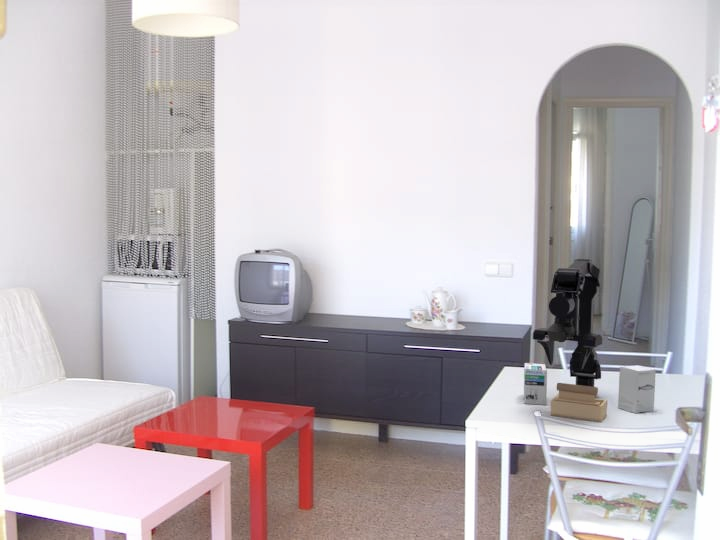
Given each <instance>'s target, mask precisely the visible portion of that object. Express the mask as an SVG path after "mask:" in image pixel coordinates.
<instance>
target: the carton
mask: <svg viewBox="0 0 720 540" xmlns="http://www.w3.org/2000/svg"><path fill="white" fill-rule="evenodd" d="M554 397H559V393H558V394H556V395H555V396H554ZM595 402H600V404H599V405H592V404H585V403H577V402H569V401H561V400H553V398H551V399H550V415H549V416H550V417H551V416H553V417H558V418H559V417H561V418H565V419H567V418H568V419H573V420H581V421H587V422H588V421H589V422H596V423H602V421H604V419H605V418H606V417H607V414H608V400H606V399H601V398H600V399H599V398H595Z"/></svg>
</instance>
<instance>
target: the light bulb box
mask: <svg viewBox="0 0 720 540" xmlns="http://www.w3.org/2000/svg"><path fill="white" fill-rule="evenodd" d="M523 368H524V370H523V373H524V374H523V400H524V401H523V402H524V404H527V405H542V406H546V405H547V392H548V391H547V390H548V388H547V385H548V380H547V379H548V370H547V364H546V363H533V362H524V367H523Z"/></svg>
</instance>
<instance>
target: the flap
mask: <svg viewBox="0 0 720 540" xmlns="http://www.w3.org/2000/svg"><path fill="white" fill-rule="evenodd" d="M556 390H557V391H558V394H559V397H555V396H554V397H553V398H552V399H553V400H561V401H569V402H577V403H585V404H592V405H599V404H600V402H595V399H596V396H595V395H597V396H598V393H599V387H597V386H594V387H591V386H582V385H576V384H573V383H566V382H565V383H563V382H557V383H556Z"/></svg>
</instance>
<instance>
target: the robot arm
mask: <svg viewBox="0 0 720 540" xmlns="http://www.w3.org/2000/svg"><path fill="white" fill-rule="evenodd" d="M602 281H603V276H602V272H601V270H600V268H598V267H597V266H595V264H593V260H592V259H589V258H576V259H574V261H573V263H572V264H571V265H570V266H568V267H560V268H559V267H558V268H557V269H556V270H555V272H554V274H553V278H552V282H551V286H550V293H552V294H555V296H553V297H552V298H551V299H550V301H549V303H548V310H549V312H550V314H551V315H552V316H554V322H553V323H552V324H551V325H550V327H549V328H548V327H540V328H537V329H534V330H533V332H532V339H533V340H534V341H536V343H538V344H540V345H541V346H542V348H543V349H544V353H545V355H546V357H547V361H548V363H549V364H548V365H549V366H552V365H553V362H554V354H555V353H554V352H555V351H554V350H555V348H554V347H555V342H558V343H564V342H566V341H571V342H577V345H576V348H575V349H574V351H572V353H571V357H570V359H569V377H570V378H571V377H575V385H582V386H591V387H595V381H596V380H601V379H602V369H601V368H602V367H601V364H600V361H599V359H598V353H597V351H596V350H595V348H597V347H598V346H600V345H603V336H602V335H601V334H600V333H594V305H595V303H594V302H595V298H596V297H597V296H598V294H599V293H600V288H602V284H603V282H602ZM596 396H598V394H597V395H595V397H596Z"/></svg>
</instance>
